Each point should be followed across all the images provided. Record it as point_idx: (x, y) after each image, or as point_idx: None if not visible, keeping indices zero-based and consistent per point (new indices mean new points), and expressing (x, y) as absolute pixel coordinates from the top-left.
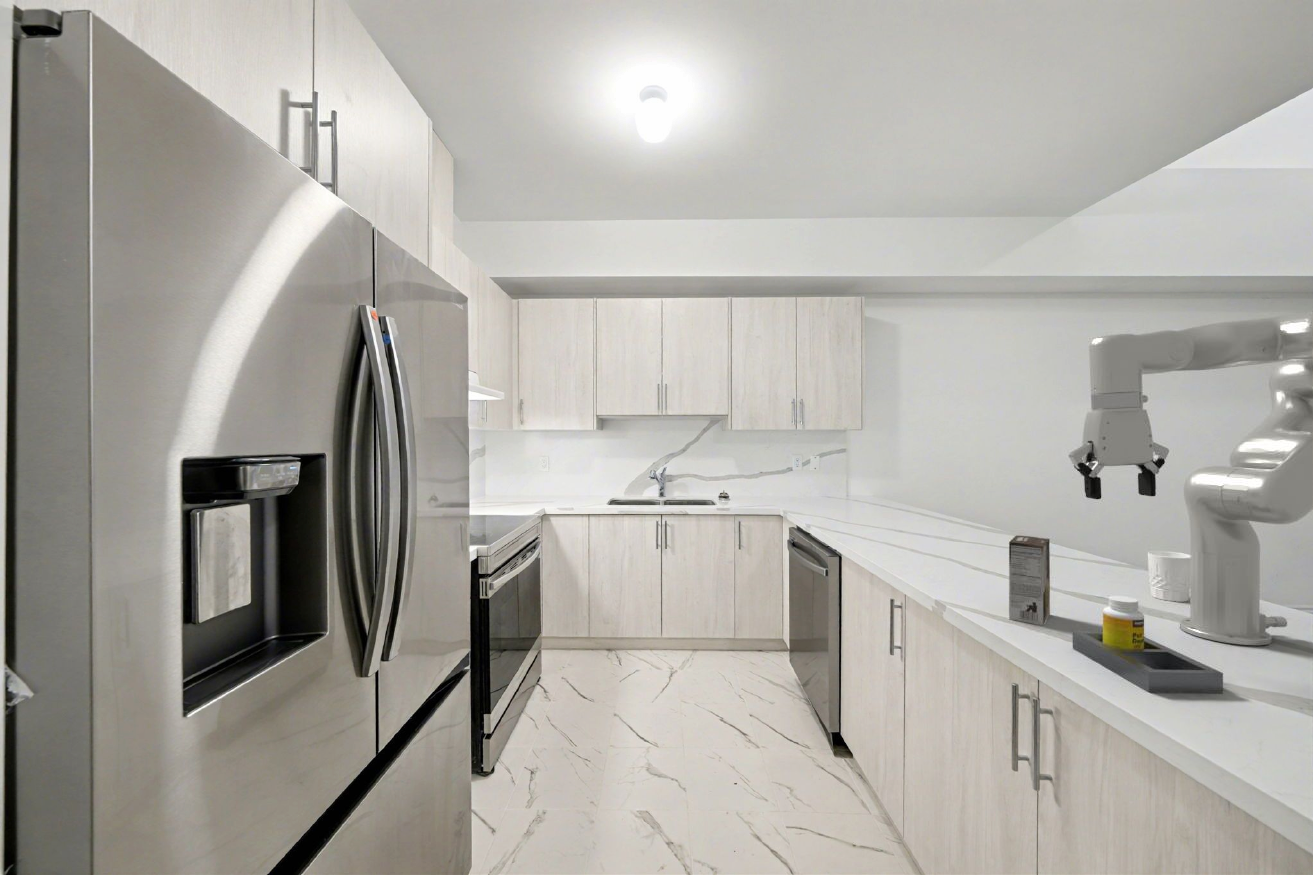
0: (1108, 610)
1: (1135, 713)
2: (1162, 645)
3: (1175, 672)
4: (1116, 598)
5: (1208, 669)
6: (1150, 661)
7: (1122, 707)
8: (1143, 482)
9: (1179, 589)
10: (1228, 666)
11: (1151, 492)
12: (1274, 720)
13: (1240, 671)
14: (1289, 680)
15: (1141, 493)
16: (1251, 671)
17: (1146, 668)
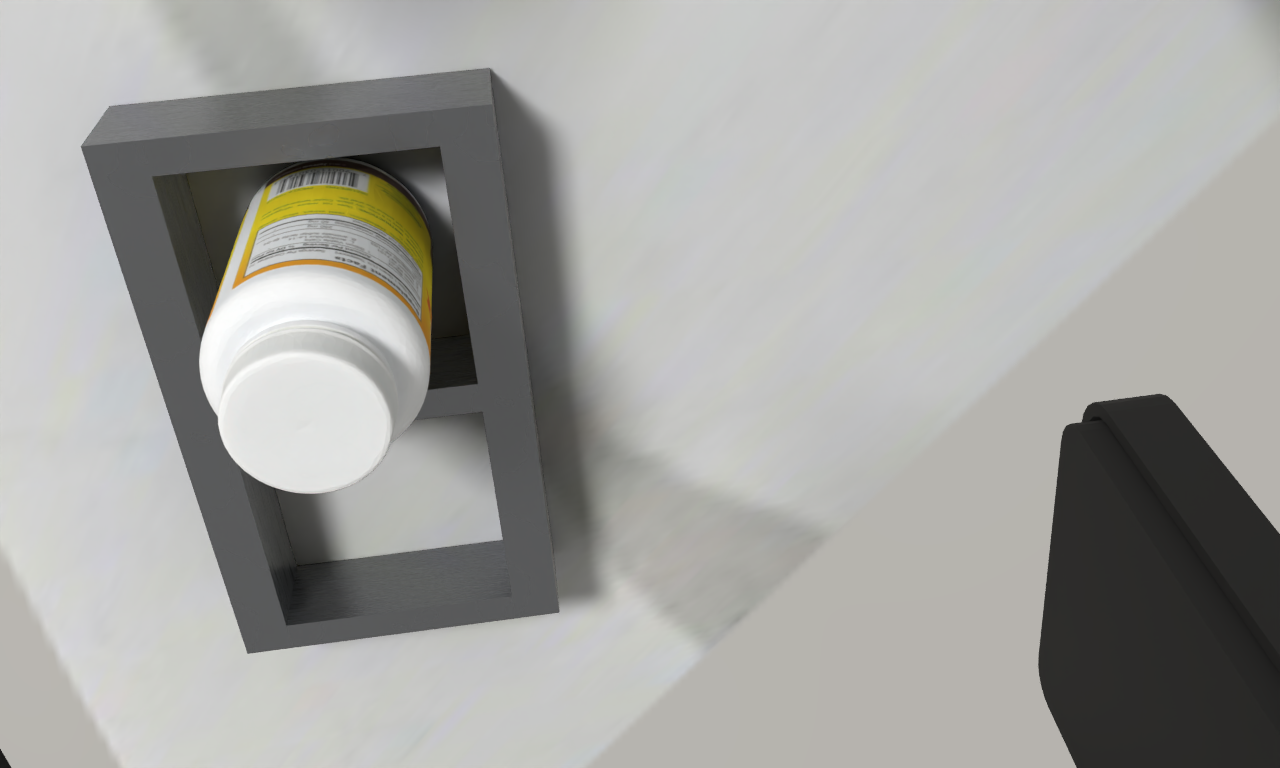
0: (213, 394)
1: (125, 748)
2: (516, 324)
3: (363, 636)
4: (259, 426)
5: (526, 588)
6: None
7: (98, 718)
8: (1178, 756)
9: None
10: (817, 266)
11: (1065, 737)
12: (567, 713)
13: (820, 321)
14: (941, 390)
15: (1066, 494)
16: (871, 314)
17: (259, 620)
